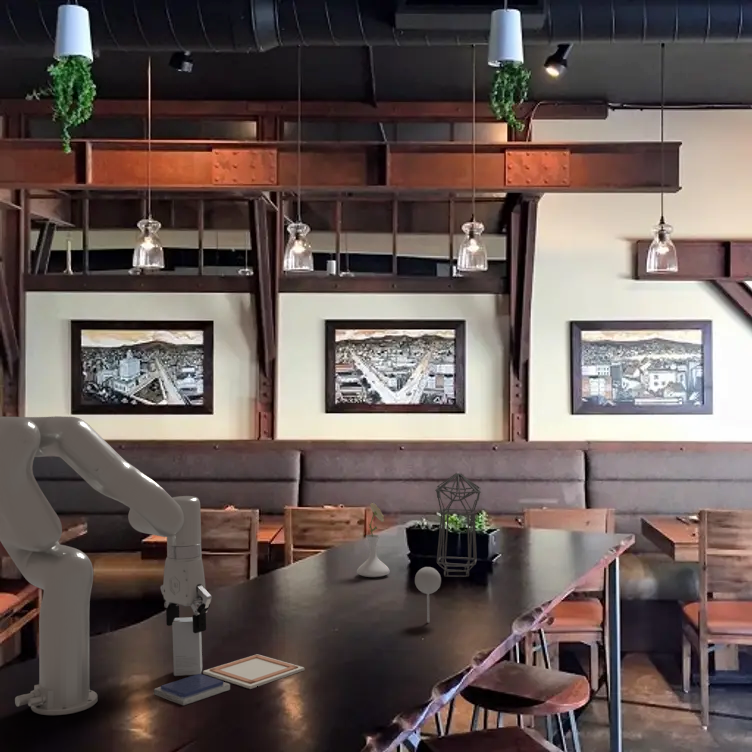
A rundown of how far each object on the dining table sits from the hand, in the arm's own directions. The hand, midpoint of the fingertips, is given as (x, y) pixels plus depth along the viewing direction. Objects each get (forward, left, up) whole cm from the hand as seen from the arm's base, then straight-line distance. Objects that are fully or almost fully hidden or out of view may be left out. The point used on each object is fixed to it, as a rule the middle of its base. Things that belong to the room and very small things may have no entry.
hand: (186, 628), depth 192 cm
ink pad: (-7, -11, -10) cm, 17 cm away
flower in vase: (+105, +36, -10) cm, 111 cm away
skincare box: (0, 0, -10) cm, 10 cm away
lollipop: (+68, -16, -10) cm, 71 cm away
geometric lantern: (+125, +14, -10) cm, 126 cm away
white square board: (+10, -11, -10) cm, 18 cm away
